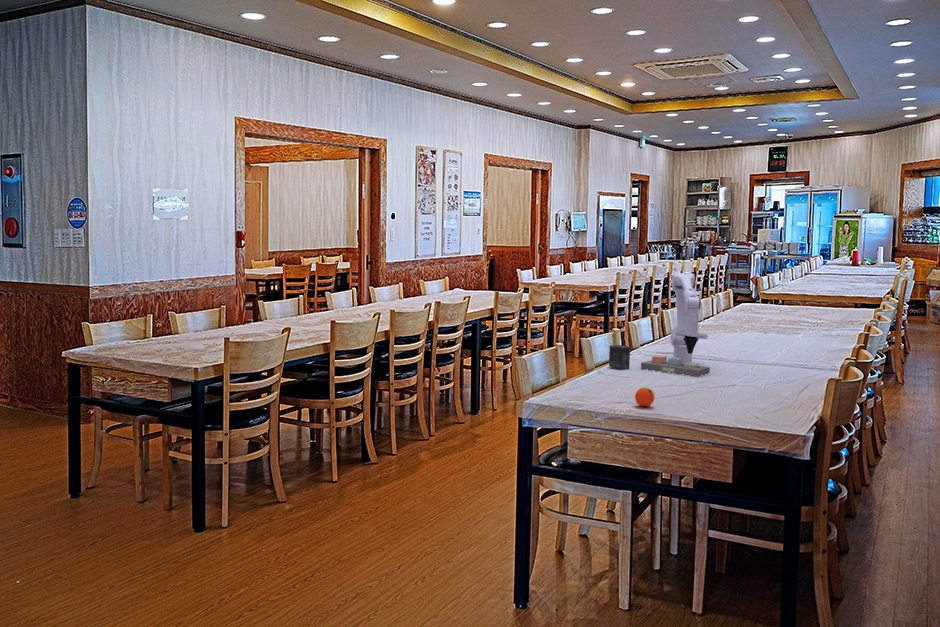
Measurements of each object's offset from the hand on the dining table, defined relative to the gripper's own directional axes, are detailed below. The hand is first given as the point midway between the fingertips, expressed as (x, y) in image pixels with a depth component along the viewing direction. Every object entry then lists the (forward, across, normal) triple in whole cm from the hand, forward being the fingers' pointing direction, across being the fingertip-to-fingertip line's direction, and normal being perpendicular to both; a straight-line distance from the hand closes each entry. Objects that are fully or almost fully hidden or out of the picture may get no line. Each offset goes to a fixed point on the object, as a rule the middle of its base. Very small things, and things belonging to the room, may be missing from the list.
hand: (690, 353), depth 375 cm
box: (+9, -28, -15) cm, 33 cm away
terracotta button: (+7, -14, -3) cm, 16 cm away
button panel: (+9, -6, -3) cm, 11 cm away
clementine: (+8, +22, -81) cm, 84 cm away
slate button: (+7, -6, -3) cm, 10 cm away
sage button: (+8, +2, -3) cm, 9 cm away
